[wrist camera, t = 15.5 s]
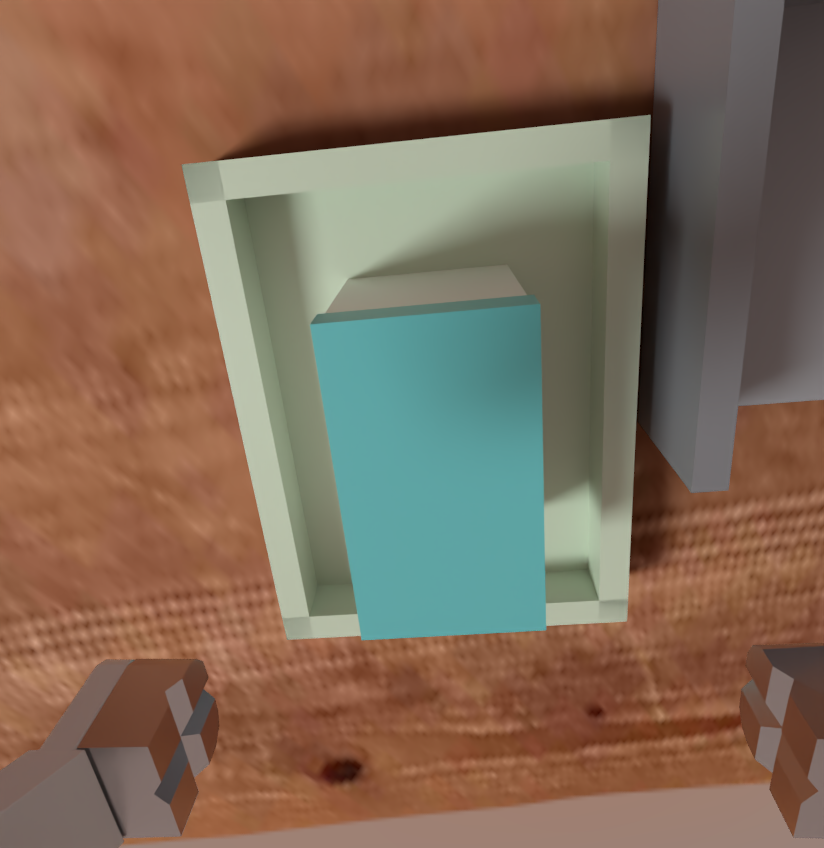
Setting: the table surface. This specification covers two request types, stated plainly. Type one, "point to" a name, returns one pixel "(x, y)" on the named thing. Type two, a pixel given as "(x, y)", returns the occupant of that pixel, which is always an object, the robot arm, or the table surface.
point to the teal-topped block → (438, 449)
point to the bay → (732, 225)
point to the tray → (423, 252)
